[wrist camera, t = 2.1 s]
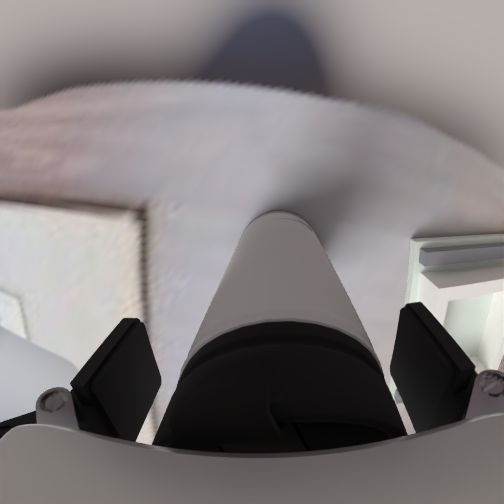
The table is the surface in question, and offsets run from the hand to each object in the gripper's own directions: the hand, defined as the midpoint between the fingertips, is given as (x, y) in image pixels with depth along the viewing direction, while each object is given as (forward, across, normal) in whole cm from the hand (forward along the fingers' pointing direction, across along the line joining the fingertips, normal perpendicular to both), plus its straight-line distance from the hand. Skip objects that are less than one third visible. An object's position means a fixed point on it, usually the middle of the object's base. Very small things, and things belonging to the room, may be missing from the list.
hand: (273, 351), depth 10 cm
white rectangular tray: (+14, -18, +10) cm, 25 cm away
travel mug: (+15, 0, +1) cm, 15 cm away
